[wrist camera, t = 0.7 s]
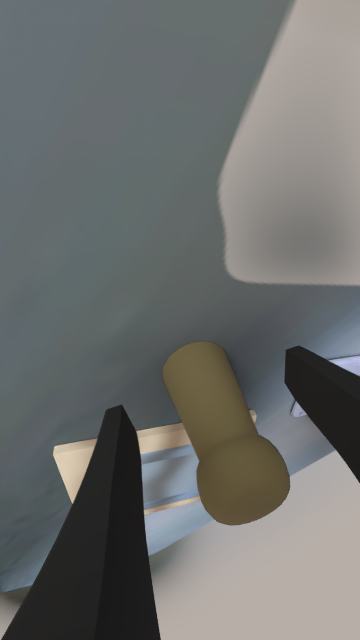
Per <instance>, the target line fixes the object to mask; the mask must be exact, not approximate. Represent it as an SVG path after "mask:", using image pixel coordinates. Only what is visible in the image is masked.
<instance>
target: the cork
mask: <svg viewBox="0 0 360 640" xmlns="http://www.w3.org/2000/svg"><path fill="white" fill-rule="evenodd" d="M162 375H163V380H164V383H165V385H166V387H167V390H168V392H169V394H170V396H171V399H172V401H173V403H174V405H175V408H176V410H177V412H178V414H179V417H180V419H181V421H182V423H183V426H184V428H185V430H186V432H187V435H188V437H189V439H190V441H191V444H192V446H193V448H194V451H195V453H196V455H197V457H198V460H199V463H198V466H197V470H196V477H197V487H198V492H199V496H200V499H201V502H202V504H203V506H204V508H205V510H206V511H207V512H208V513H209V514H210V515H211V516H212V517H213V518H214V519H215V520H216V521H217V522H219V523H222V524H226V525H241V524H245V523H249V522H252V521H255V520H258V519H260V518H262V517H264V516H266V515H268V514H269V513H271V512H272V511H274V510H275V509H276V508H278V507H279V506H280V505H281V504H282V503H283V501H284V500H285V499H286V497H287V495H288V493H289V490H290V476H289V473H288V470H287V467H286V464H285V462H284V459H283V458H282V456H281V454H280V453H279V451H278V449H277V448H276V447H275V446H274V445H273V444H272V443H271V442H270V441H269V440H267V439H265V438H264V437H262V436H260V435H259V434H258V432H257V429H256V427H255V424H254V422H253V419H252V417H251V414H250V412H249V409H248V407H247V404H246V402H245V399H244V397H243V394H242V392H241V389H240V387H239V384H238V382H237V379H236V377H235V374H234V372H233V369H232V367H231V364H230V362H229V359H228V357H227V355H226V352H225V350H224V349H222V348H221V347H220V346H219V345H217V344H214V343H212V342H201V341H198V342H194V343H190V344H187V345H185V346H183V347H181V348H179V349H177V350H176V351H175V352H174V353H173V354H172V355H171V356H169V358H168V359H167V361H166V363H165V364H164V368H163V372H162Z"/></svg>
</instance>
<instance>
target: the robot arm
mask: <svg viewBox="0 0 360 640" xmlns="http://www.w3.org/2000/svg"><path fill="white" fill-rule="evenodd" d="M285 384H286V386H287V387H288V389H289V390H290V392H291V394H292V395H293V397H294V398H295V400H296V402H295V405H294V407H293V410H292V412H291V414H292V416H293V417H299V416H304V415H308V416H309V418H310V419H311V420H312V421H313V423H314V424H315V425H316V426H317V427H318V429H319V430H320V431H321V432H322V433H323V435H324V436H325V437H326V438H327V439H328V441H329V442H330V443H331V444H332V446H333V447H334V448H335V449H336V450H337V452H338V453H339V454H340V456H341V457H342V458H343V460H344V461H345V462H346V464H347V465H348V467H349V468H350V469H351V471H352V472H353V474H354V475H355V476H356V478H357V480H358V481H359V483H360V356H354V357H347V358H341V359H334V360H326V359H324V358H322V357H320V356H319V355H317V354H315V353H313V352H311V351H309V350H307V349H305V348H303V347H301V346H296V347H293V348H290V349H287V350H286V359H285ZM1 640H161V638H160V633H159V626H158V619H157V613H156V607H155V600H154V593H153V586H152V579H151V572H150V565H149V557H148V550H147V542H146V533H145V522H144V502H143V482H142V464H141V454H140V448H139V442H138V436H137V432H136V430H135V428H134V426H133V425H132V423H131V421H130V419H129V417H128V415H127V413H126V411H125V410H124V408H123V406H122V405H119V406H116V407H113V408H110V409H107V410H106V412H105V415H104V419H103V422H102V426H101V429H100V432H99V435H98V438H97V441H96V444H95V447H94V450H93V453H92V456H91V459H90V461H89V464H88V467H87V470H86V472H85V475H84V477H83V480H82V482H81V485H80V487H79V490H78V492H77V495H76V497H75V500H74V502H73V504H72V506H71V509H70V511H69V513H68V515H67V518H66V520H65V522H64V524H63V526H62V528H61V530H60V532H59V535H58V537H57V539H56V541H55V543H54V545H53V547H52V549H51V551H50V553H49V554H48V556H47V558H46V560H45V562H44V564H43V566H42V568H41V570H40V572H39V574H38V576H37V578H36V579H35V581H34V583H33V585H32V587H31V589H30V591H29V592H28V594H27V596H26V597H25V599H24V601H23V603H22V604H21V606H20V608H19V610H18V611H17V613H16V615H15V617H14V618H13V620H12V622H11V624H10V625H9V627H8V629H7V631H6V632H5V634H4V636H3V637H2V639H1Z"/></svg>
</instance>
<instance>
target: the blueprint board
mask: <svg viewBox="0 0 360 640" xmlns="http://www.w3.org/2000/svg"><path fill="white" fill-rule="evenodd" d="M249 412H250V414H251V417H252V419H253V422H254V424H255V420H256V417H257V415H256V413H255V412H254V410H249ZM136 432H137V436H138V442H139V448H140V454H141V464H142V482H143V502H144V515H145V514H149V513H153V512H157V511H161V510H165V509H169V508H172V507H176V506H180V505H184V504H188V503H192V502H196V501H200V500H201V499H200V496H199V492H198V487H197V477H196V470H197V466H198V463H199V460H198V457H197V455H196V453H195V451H194V448H193V446H192V444H191V441H190V439H189V437H188V435H187V432H186V430H185V428H184V426H183V423H177V424H172V425H167V426H161V427H156V428H150V429H145V430H139V431H136ZM96 441H97V438H96V439H90V440H85V441H79V442H74V443H69V444H63V445H58V446H55V447H54V452H53V456H54V458H55V461H56V463H57V466H58V468H59V471H60V473H61V476H62V479H63V481H64V484H65V486H66V489H67V491H68V494H69V496H70V499H71V501H72V504H73V502H74V500H75V497H76V495H77V492H78V490H79V487H80V485H81V482H82V480H83V477H84V475H85V472H86V470H87V467H88V464H89V461H90V459H91V456H92V453H93V450H94V447H95V444H96Z"/></svg>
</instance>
